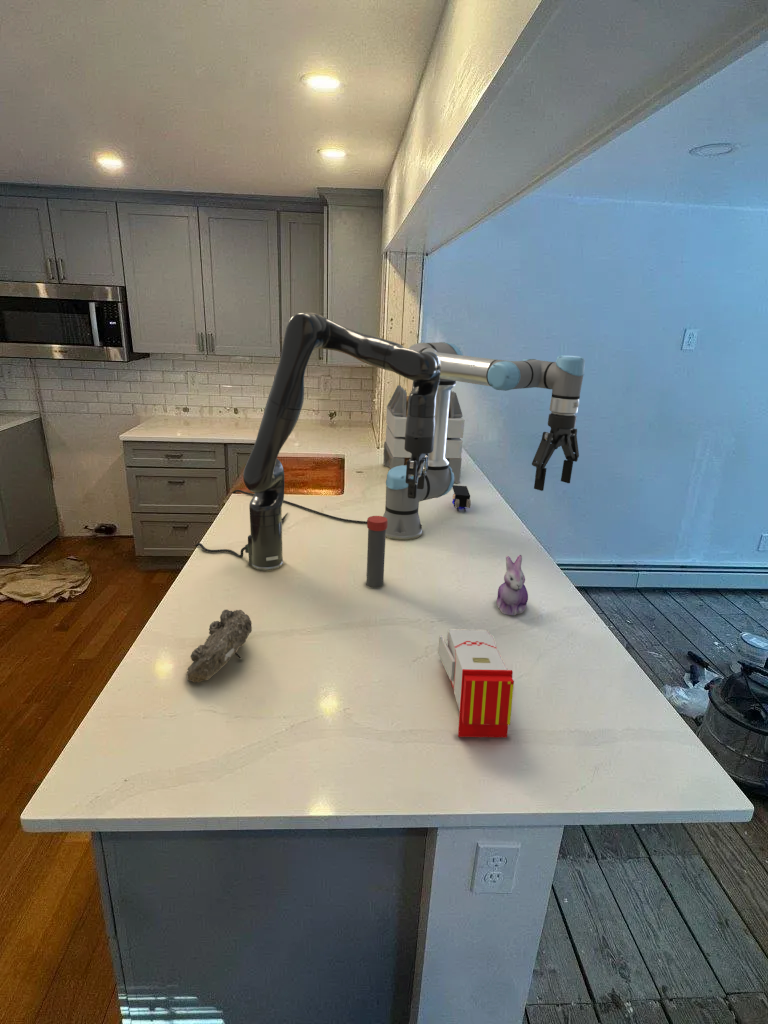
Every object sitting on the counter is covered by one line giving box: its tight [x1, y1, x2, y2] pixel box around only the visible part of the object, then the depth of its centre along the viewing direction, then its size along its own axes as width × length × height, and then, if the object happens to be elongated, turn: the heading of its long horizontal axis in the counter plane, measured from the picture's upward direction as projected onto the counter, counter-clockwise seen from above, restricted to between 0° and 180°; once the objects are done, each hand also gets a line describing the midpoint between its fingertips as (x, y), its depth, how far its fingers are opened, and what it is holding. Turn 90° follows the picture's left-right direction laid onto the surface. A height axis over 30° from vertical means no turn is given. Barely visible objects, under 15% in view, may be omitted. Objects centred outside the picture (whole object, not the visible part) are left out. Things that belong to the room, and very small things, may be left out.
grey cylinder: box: [365, 528, 387, 589], centre depth 159 cm, size 5×5×20 cm
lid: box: [366, 515, 388, 531], centre depth 156 cm, size 6×6×2 cm
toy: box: [437, 628, 515, 738], centre depth 117 cm, size 12×13×30 cm
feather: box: [282, 513, 288, 524], centre depth 211 cm, size 2×28×2 cm
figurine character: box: [451, 484, 472, 513], centre depth 228 cm, size 7×8×15 cm
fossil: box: [186, 609, 253, 683], centre depth 125 cm, size 22×10×15 cm
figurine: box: [496, 554, 529, 616], centre depth 150 cm, size 9×10×15 cm
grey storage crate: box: [383, 384, 465, 484], centre depth 268 cm, size 34×33×41 cm
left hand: (415, 493), depth 150 cm, fingers open, 8 cm apart
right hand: (552, 485), depth 166 cm, fingers open, 13 cm apart
